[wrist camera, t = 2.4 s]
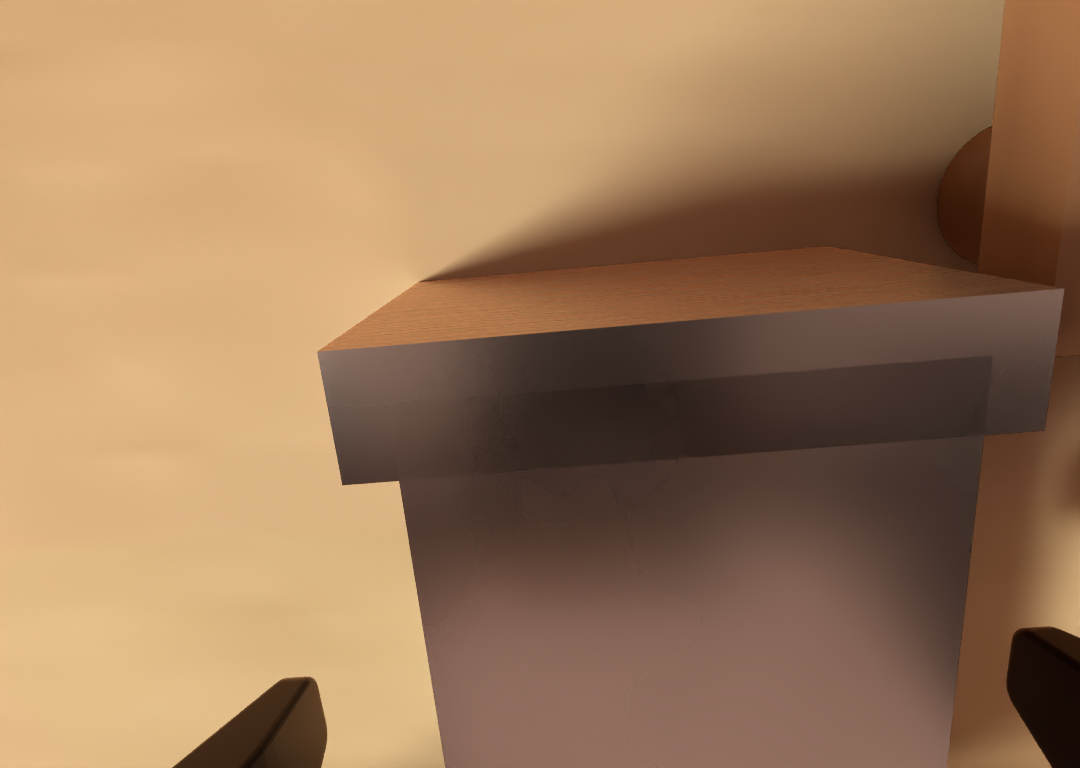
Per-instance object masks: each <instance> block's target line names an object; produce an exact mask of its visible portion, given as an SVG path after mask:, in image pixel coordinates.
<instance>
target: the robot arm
mask: <svg viewBox="0 0 1080 768" xmlns="http://www.w3.org/2000/svg"><path fill="white" fill-rule="evenodd" d="M1006 684H1007V691H1008V694H1009V697H1010V699H1011V702H1012V703H1013V705H1014V707H1015V709H1016V710H1017V712H1018V713H1019V715H1020V717H1021V718H1022V720H1023V721H1024V723H1025V725H1026V726H1027V728H1028V730H1029V731H1030V733H1031V734H1032V736H1033V738H1034V739H1035V741H1036V742H1037V744H1038V746H1039V747H1040V749H1041V750H1042V752H1043V754H1044V755H1045V757H1046V759H1047V760H1048V762H1049V763H1050V765H1051V767H1052V768H1080V638H1079V637H1076V636H1074V635H1072V634H1069V633H1067V632H1065V631H1062V630H1060V629H1057V628H1055V627H1031V628H1021V629H1019V630H1017V631H1016V632H1015V633H1014V635H1013V637H1012V643H1011V650H1010V657H1009V664H1008V672H1007V679H1006ZM326 743H327V726H326V721H325V716H324V712H323V707H322V703H321V698H320V694H319V689H318V685H317V683H316V681H315V679H313V678H311V677H295V678H285V679H282V680H280V681H279V682H277V683H276V684H275V685H273V686H272V687H271V688H270V689H268V690H267V691H266V692H265V693H263V694H262V695H261V696H260V697H259V698H257V699H256V700H255V701H254V702H252V703H251V704H250V705H249V706H247V707H246V708H245V709H244V710H243V711H241V712H240V713H239V714H238V715H236V716H235V717H234V718H233V719H231V720H230V721H229V722H228V723H227V724H225V725H224V726H223V727H222V728H220V729H219V730H218V731H217V732H215V733H214V734H213V735H212V736H211V737H209V738H208V739H207V740H206V741H204V742H203V743H202V744H201V745H199V746H198V747H197V748H196V749H195V750H193V751H192V752H191V753H190V754H188V755H187V756H186V757H185V758H183V759H182V760H181V761H180V762H179V763H177V764H176V765H175V766H174V767H172V768H321V766H322V762H323V758H324V753H325V749H326Z"/></svg>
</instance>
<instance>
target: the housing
mask: <svg viewBox="0 0 1080 768" xmlns="http://www.w3.org/2000/svg"><path fill="white" fill-rule="evenodd" d="M1063 295H1064V289H1063V288H1058V287H1052V286H1047V285H1041V284H1036V283H1030V282H1025V281H1019V280H1013V279H1008V278H1002V277H997V276H991V275H986V274H980V273H975V272H969V271H963V270H958V269H952V268H947V267H941V266H936V265H930V264H924V263H919V262H913V261H908V260H902V259H897V258H891V257H886V256H880V255H874V254H869V253H863V252H858V251H852V250H847V249H841V248H836V247H830V246H823V247H811V248H800V249H789V250H777V251H766V252H754V253H743V254H731V255H720V256H708V257H697V258H685V259H674V260H663V261H651V262H640V263H628V264H617V265H605V266H594V267H582V268H571V269H559V270H548V271H537V272H525V273H514V274H502V275H491V276H479V277H468V278H456V279H445V280H433V281H422V282H418V283H416V284H415V285H414V286H412V287H411V288H409V289H408V290H406V291H405V292H403V293H402V294H400V295H399V296H398V297H396V298H395V299H393V300H392V301H390V302H389V303H387V304H386V305H384V306H383V307H382V308H380V309H379V310H377V311H376V312H374V313H373V314H371V315H370V316H368V317H367V318H366V319H364V320H363V321H361V322H360V323H358V324H357V325H355V326H354V327H352V328H351V329H350V330H348V331H347V332H345V333H344V334H342V335H341V336H339V337H338V338H336V339H335V340H334V341H332V342H331V343H329V344H328V345H326V346H325V347H323V348H322V349H320V350H319V351H318V352H317V353H318V358H319V364H320V369H321V374H322V379H323V385H324V390H325V395H326V401H327V406H328V411H329V416H330V422H331V427H332V432H333V438H334V443H335V448H336V453H337V459H338V464H339V469H340V475H341V480H342V485H351V484H364V483H377V482H390V481H399V483H400V489H401V495H402V501H403V507H404V514H405V520H406V526H407V532H408V538H409V544H410V551H411V557H412V563H413V569H414V575H415V581H416V588H417V594H418V600H419V606H420V612H421V619H422V625H423V631H424V637H425V643H426V649H427V656H428V662H429V668H430V674H431V680H432V687H433V693H434V699H435V705H436V711H437V717H438V724H439V730H440V736H441V742H442V748H443V755H444V761H445V767H446V768H947V762H948V753H949V744H950V735H951V726H952V717H953V708H954V700H955V691H956V682H957V673H958V664H959V655H960V646H961V637H962V628H963V619H964V611H965V602H966V593H967V584H968V575H969V566H970V557H971V548H972V539H973V530H974V521H975V513H976V504H977V495H978V486H979V477H980V468H981V459H982V450H983V441H984V435H995V434H1008V433H1020V432H1033V431H1045V424H1046V417H1047V409H1048V402H1049V395H1050V388H1051V381H1052V374H1053V366H1054V359H1055V352H1056V345H1057V338H1058V331H1059V324H1060V316H1061V309H1062V302H1063Z"/></svg>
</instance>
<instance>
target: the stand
mask: <svg viewBox="0 0 1080 768" xmlns="http://www.w3.org/2000/svg"><path fill="white" fill-rule="evenodd" d="M937 213H938V221H939V224H940V228H941V231H942V233H943V235H944V237H945V239H946V241H947V242H948V244H949V245H950V246H951V247H952V248H953V250H954V251H956V252H957V253H958V254H959V255H960V256H962V257H964V258H965V259H967V260H969V261H971V262H974V263H977V264H978V273H980V274H986V275H991V276H997V277H1002V278H1008V279H1013V280H1019V281H1025V282H1030V283H1036V284H1041V285H1047V286H1052V287H1058V288H1063V289H1064V295H1063V302H1062V309H1061V316H1060V324H1059V331H1058V338H1057V345H1056V352H1055V357H1059V356H1071V355H1080V0H1005V8H1004V18H1003V28H1002V38H1001V48H1000V58H999V67H998V77H997V87H996V97H995V107H994V117H993V126H991V127H989V128H987V129H985V130H984V131H982V132H980V133H979V134H977V135H976V136H975V137H973V138H972V139H971V140H970V141H968V142H967V143H966V144H965V145H964V146H963V147H962V148H961V150H960V151H959V152H958V153H957V154H956V155H955V157H954V158H953V160H952V161H951V163H950V164H949V166H948V168H947V170H946V172H945V174H944V177H943V179H942V182H941V185H940V189H939V193H938V200H937Z"/></svg>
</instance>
